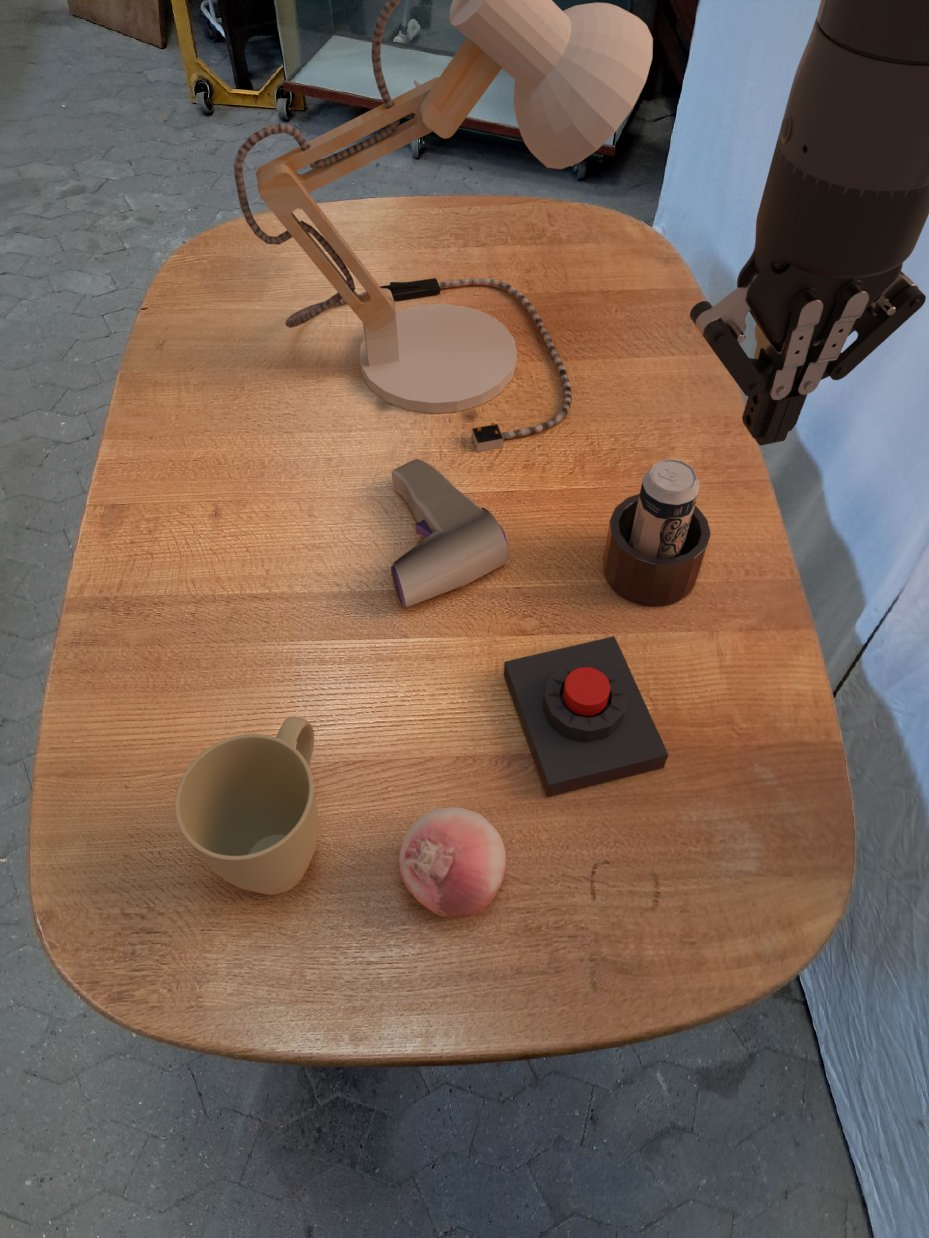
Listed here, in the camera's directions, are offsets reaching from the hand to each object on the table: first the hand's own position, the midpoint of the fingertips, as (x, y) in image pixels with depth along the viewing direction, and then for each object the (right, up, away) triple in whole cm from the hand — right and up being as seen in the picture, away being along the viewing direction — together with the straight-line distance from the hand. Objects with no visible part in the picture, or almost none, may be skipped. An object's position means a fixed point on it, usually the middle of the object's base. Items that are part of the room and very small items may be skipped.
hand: (764, 434), depth 55 cm
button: (-8, -17, +19) cm, 27 cm away
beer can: (-1, -6, +31) cm, 32 cm away
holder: (-1, -7, +31) cm, 32 cm away
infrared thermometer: (-23, -4, +34) cm, 41 cm away
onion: (-19, -31, +14) cm, 38 cm away
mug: (-32, -29, +15) cm, 46 cm away
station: (-8, -20, +22) cm, 30 cm away
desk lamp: (-20, +18, +50) cm, 57 cm away
